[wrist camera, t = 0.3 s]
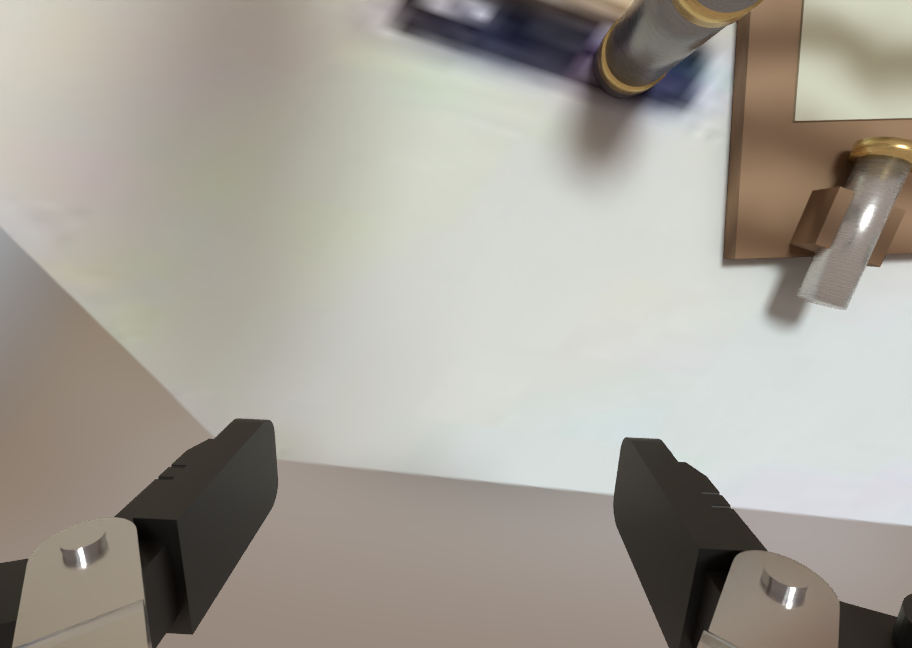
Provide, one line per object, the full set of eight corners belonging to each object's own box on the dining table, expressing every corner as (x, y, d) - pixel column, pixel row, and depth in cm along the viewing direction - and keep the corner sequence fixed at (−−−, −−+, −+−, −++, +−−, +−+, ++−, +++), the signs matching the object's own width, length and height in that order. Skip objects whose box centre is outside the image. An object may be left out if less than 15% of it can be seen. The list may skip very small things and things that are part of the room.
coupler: (591, 29, 34) (690, -116, 20) (659, 27, 34) (802, -119, 21) (590, 101, 35) (685, 8, 21) (656, 99, 35) (793, 5, 21)
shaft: (824, 307, 36) (870, 315, 32) (776, 291, 36) (816, 296, 32) (889, 163, 35) (946, 152, 31) (839, 144, 34) (890, 131, 30)
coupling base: (749, -174, 32) (791, -232, 28) (1041, -179, 33) (1123, -237, 29) (723, 267, 37) (756, 270, 33) (978, 259, 37) (1041, 261, 34)
